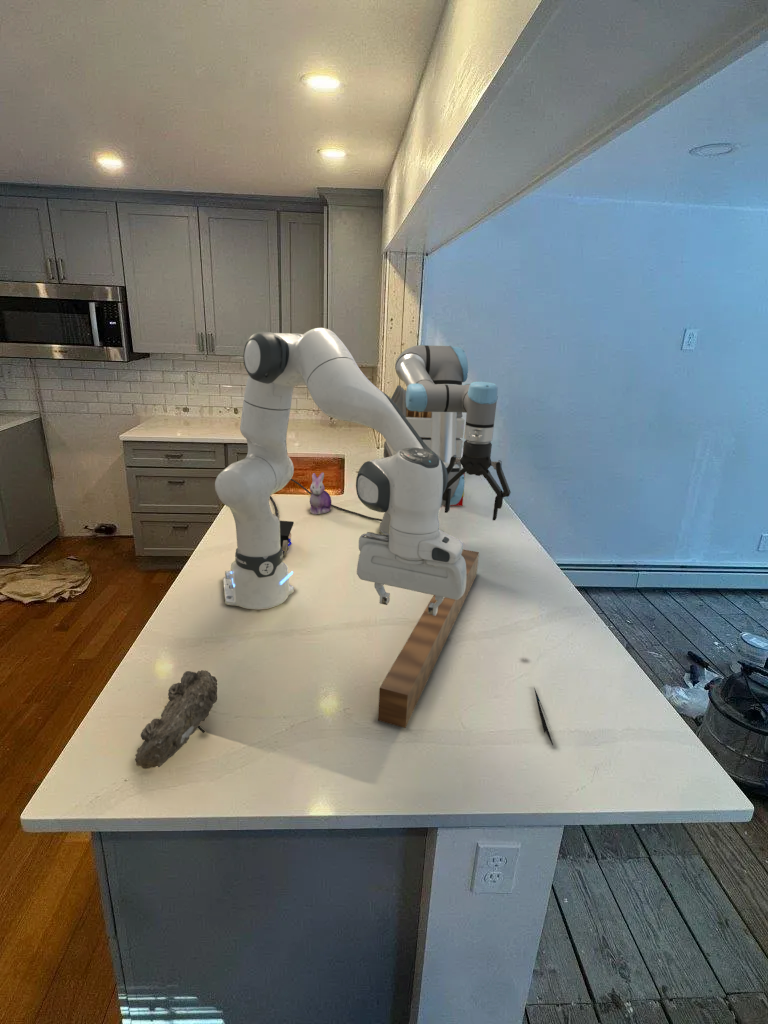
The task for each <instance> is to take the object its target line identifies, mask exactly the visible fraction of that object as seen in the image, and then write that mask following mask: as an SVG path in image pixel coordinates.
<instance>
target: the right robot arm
mask: <svg viewBox="0 0 768 1024" xmlns="http://www.w3.org/2000/svg"><path fill="white" fill-rule="evenodd" d="M467 356H468V355H467V353H466V351H465V350H464V349H463V348H462V347H461V346H453V345H425V344H417V345H413V346H410V347H408V348H406V349H405V350H403V351H402V352H401V353H400V354H399V355H398V356H397V358H396V359H395V360H396V361H395V364H394V369H395V372H396V376H397V377H398V378H399V380H400V381H402V382H403V383H404V385H405V387H406V389H405V390H406V407H407V409H408V410H410V411H417V412H432V419H431V450H432V451H433V452H435V453H436V454H437V455H438V456H439V457H440V459H441V460H442V461H443V463H444V465H445V467H446V469H447V473H448V483H447V487H446V489H445V492H444V493H443V495H442V504H441V506H444V513H445V514H448V513H449V512H450V510H451V509H450V507H451V505H456V504H458V503H459V501H460V500H461V498H462V495H463V491H464V492H465V482H466V481H465V480H464V473H465V474H468V475H470V476H473V475H474V476H478V477H480V476H483V478H484V479H485V480H486V481H487V483H488V484H489V486H490V487H491V488H492V489H491V490H493V492H494V493H495V497H494V504H493V505H494V506H493V512H492V521H496V520H497V518H498V510H500V509H502V507H503V502H504V498H509V497H510V495H511V493H512V492H511V489H510V486H509V483H508V481H507V479H506V476H505V473H504V471H503V461H502V460H501V459H500V460H497V461H496V460H495V461H492V458H491V456H492V447H493V443H492V441H493V439H494V429H495V420H496V411H497V403H498V398H499V396H498V389H499V387H498V385H497V384H496V383H494V382H489V381H472V382H471V383H465V382H466V381H467V380H468V377H469V375H468V374H469V362H468V361H469V360H468V357H467ZM457 412H462V413H466V415H465V424H464V434H463V439H464V441H463V445H462V455H461V457H457V456H456V455H455V452H456V418H457ZM458 462H460V463H461V470H460V471H459V466H458V465H457V463H458ZM491 467H492V469H494V471H495V472H496V475H497V478H498V480H499V483H500V485H501V487H500V485H499V484H498V483H497V481H496V479H495V478H494V477H493V475H492V473H491V471H490V468H491ZM290 481H291V482H293V483H294V484H296V485H298V486H299V487H300V488H301V489H303V490H304V491H306V492H307V494H309V495H310V496H311V495H312V493H311V491H310V490H309V489H307V488H306V487H304V486H303V485H302V484H301V483H299V482H298V481H297V480H295V479H293V478H291V480H290ZM331 508H334V509H338V510H340V511H342V512H343V511H344V512H347V513H350V514H353V515H357V516H360V517H362V518H365V519H369V520H372V521H378V522H379V526H378V533H379V534H384V535H389V527H390V520H391V516H390V515H389V513H386V512H383V515H382V518H376V517H371V516H368V515H364V514H363V513H359V512H355V511H352V510H349V509H346V508H343V507H339V506H337V505H334V504H333V503H331Z"/></svg>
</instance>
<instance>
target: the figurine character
mask: <svg viewBox="0 0 768 1024" xmlns="http://www.w3.org/2000/svg"><path fill="white" fill-rule="evenodd" d="M279 521H280V546H281V547H282V552H283V556H285V553H286V552H288V551H289V547H290V546H292V545H293V542H292V533H291V532H292V529H293V526H294V524H295V523H294V521H289V520H279Z"/></svg>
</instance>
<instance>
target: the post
mask: <svg viewBox="0 0 768 1024" xmlns="http://www.w3.org/2000/svg"><path fill="white" fill-rule="evenodd" d="M461 555H462V556H463V557H464V559H465V562H466V575H467V577H466V589H465V592H464V594H463V596H462V597H461V598H459V599H458V600H455V599H450V598H446V597H445V598H444V600H443V601H442V603H441V604H440V605H439V606H438V612H437V614H436V616H434V615H429V614H428V606H429V605H430V603H431V602H432V603H435V602H436V601H437V600H435V595H432V597H431V599H430V600H429V602H428V604H427V606H426V607H425V609H424V611H423V612H422V614H421V616H420V617H419V620H418V621H417V623H416V625H415V626H414V628H413V630H412V631H411V633H410V634H409V637H408V638H407V640H406V641H405V644H404V645H403V647H402V648H401V650H400V651H399V653H398V655H397V657H396V659H394V662H393V664H392V666H391V667H390V669H389V671H388V673H387V674H386V676H385V678H384V679H383V681H382V682H381V684H380V686H379V690H378V710H377V711H378V713H377V721H378V722H383V723H385V724H388V725H389V724H390V725H392V726H396V727H400V728H403V729H406V728H407V726H408V723H409V722H410V720H411V717H412V716H413V713H414V711H415V709H416V706H417V704H418V702H419V700H420V698H421V695H422V693H423V691H424V689H425V687H426V685H427V683H428V681H429V678H430V676H431V674H432V673H433V670H434V668H435V665H436V663H437V661H438V659H439V657H440V655H441V653H442V650H443V648H444V646H445V644H446V642H447V640H448V638H449V635H450V633H451V631H452V629H453V627H454V625H455V622H456V620H457V618H458V617H459V613H460V611H461V609H462V607H463V605H464V603H465V601H466V599H467V597H468V594H469V592H470V590H471V588H472V586H473V584H474V581H475V579H476V577H477V575H478V566H479V558H480V557H479V556H480V552H479V551H476V550H469V549H464V548H463V551H462V554H461Z"/></svg>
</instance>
